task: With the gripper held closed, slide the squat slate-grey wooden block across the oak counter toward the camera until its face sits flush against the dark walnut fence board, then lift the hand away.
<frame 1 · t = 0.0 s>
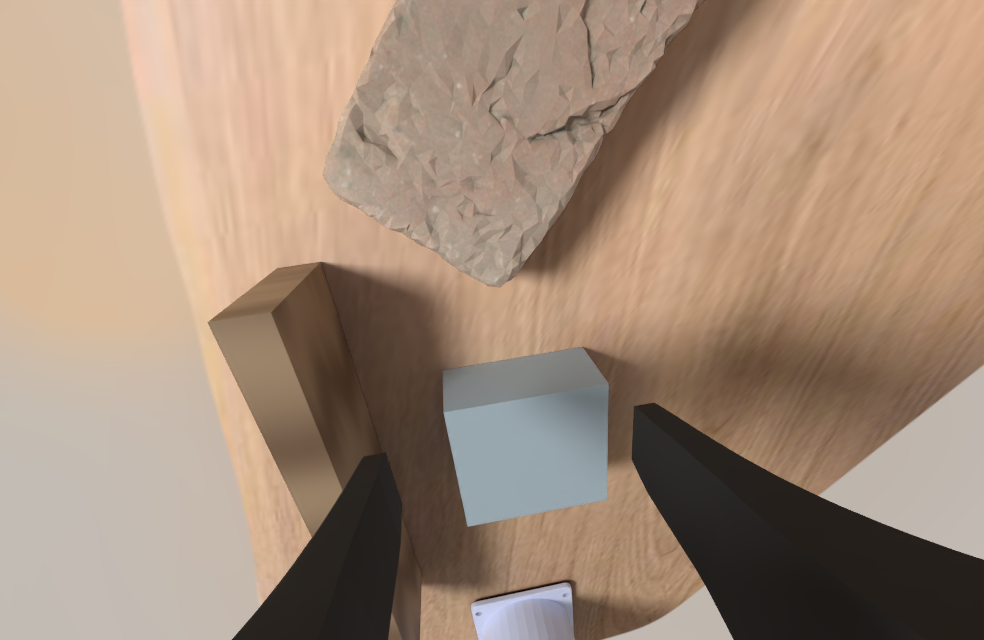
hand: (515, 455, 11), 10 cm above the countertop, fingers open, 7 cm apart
brick: (513, 62, 16), on the countertop
fence board: (365, 457, 23), on the countertop
grey block: (518, 412, 24), on the countertop
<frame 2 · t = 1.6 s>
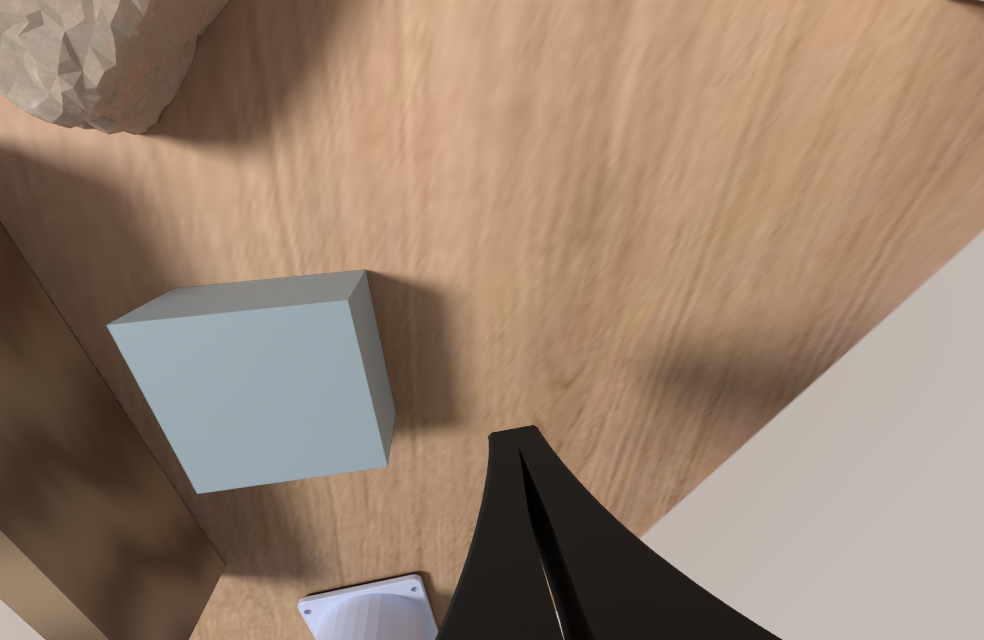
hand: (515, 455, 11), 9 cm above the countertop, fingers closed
fence board: (98, 410, 18), on the countertop
grey block: (299, 355, 19), on the countertop
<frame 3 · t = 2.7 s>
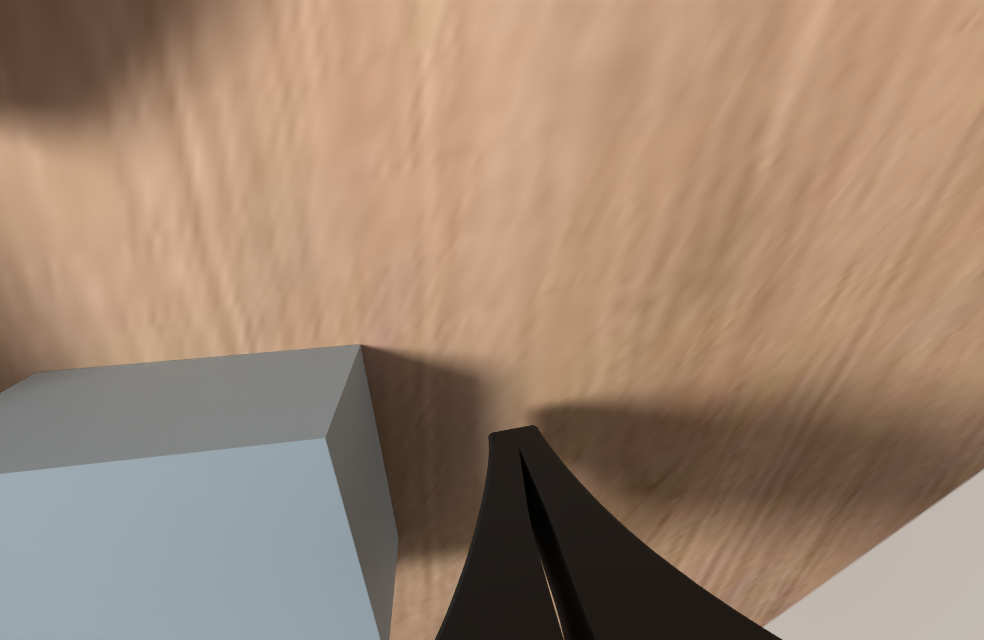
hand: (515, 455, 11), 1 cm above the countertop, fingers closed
grey block: (253, 463, 12), on the countertop
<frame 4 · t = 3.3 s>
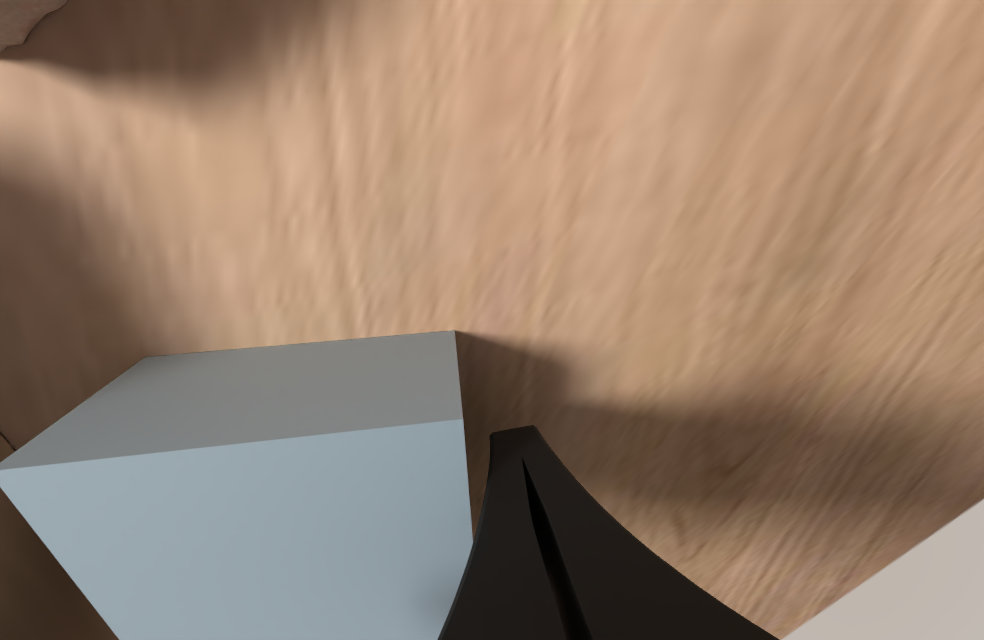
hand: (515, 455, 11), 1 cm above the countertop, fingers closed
fence board: (48, 535, 12), on the countertop
grey block: (337, 452, 12), on the countertop, touching gripper
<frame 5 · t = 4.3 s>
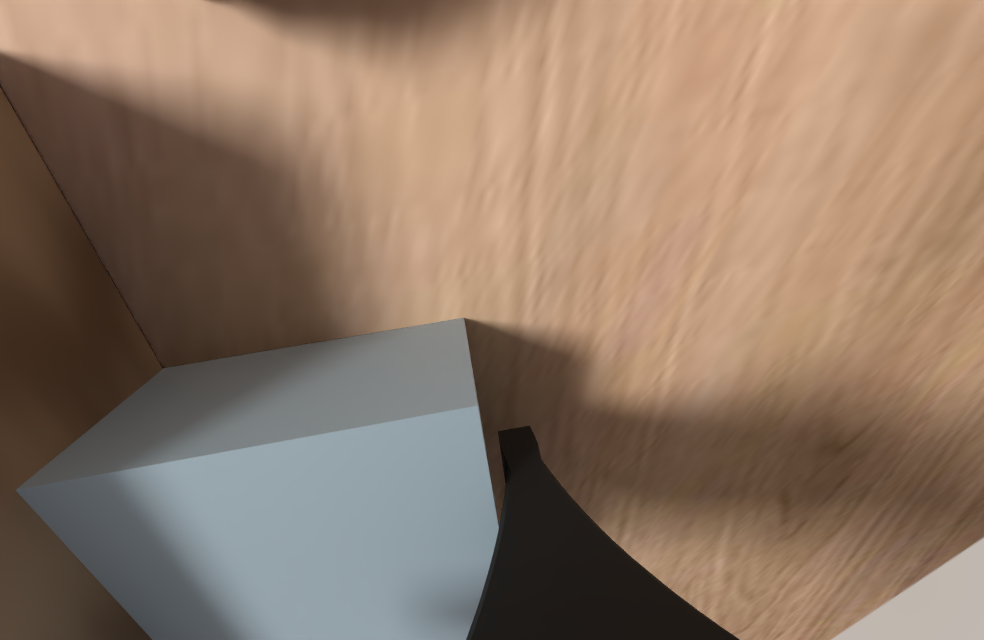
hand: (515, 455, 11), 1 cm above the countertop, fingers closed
fence board: (205, 505, 12), on the countertop
grey block: (357, 452, 12), on the countertop, touching fence board, gripper
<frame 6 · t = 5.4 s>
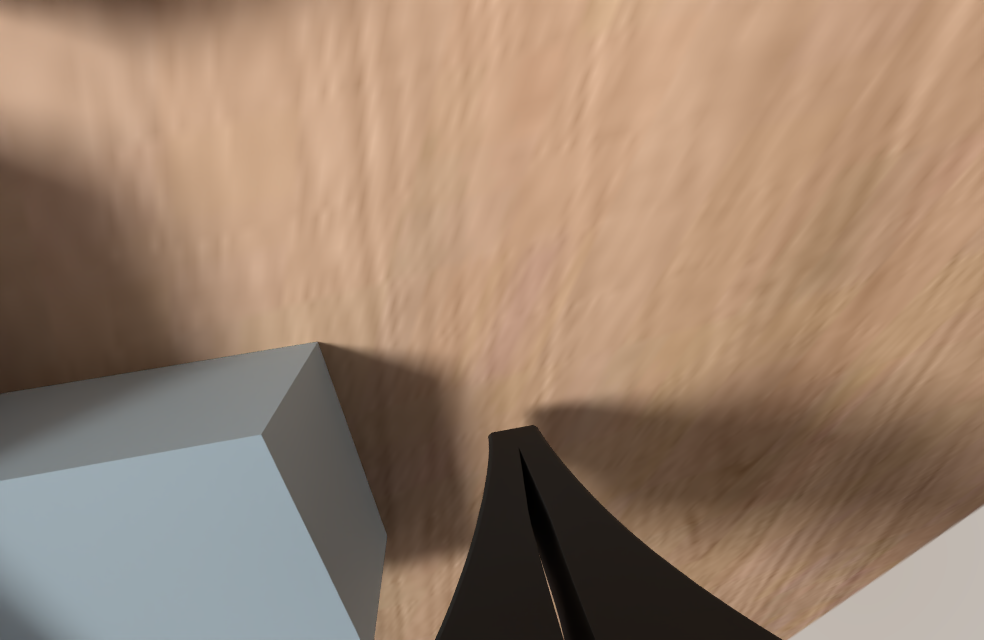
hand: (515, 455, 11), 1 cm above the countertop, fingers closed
grey block: (230, 469, 12), on the countertop
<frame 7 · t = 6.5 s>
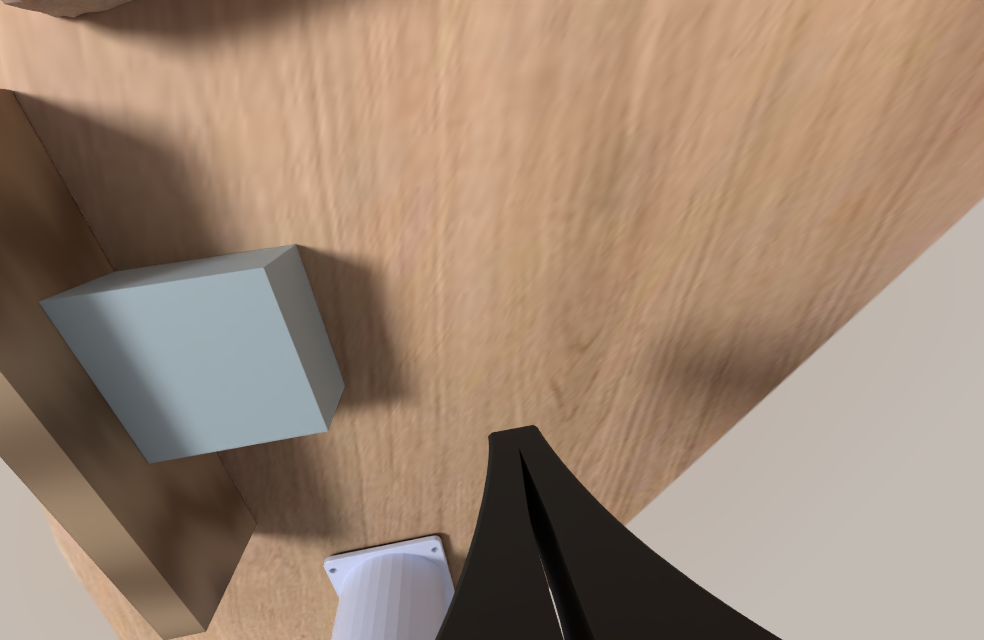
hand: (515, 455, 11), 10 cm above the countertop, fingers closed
fence board: (145, 367, 19), on the countertop
grey block: (244, 331, 20), on the countertop
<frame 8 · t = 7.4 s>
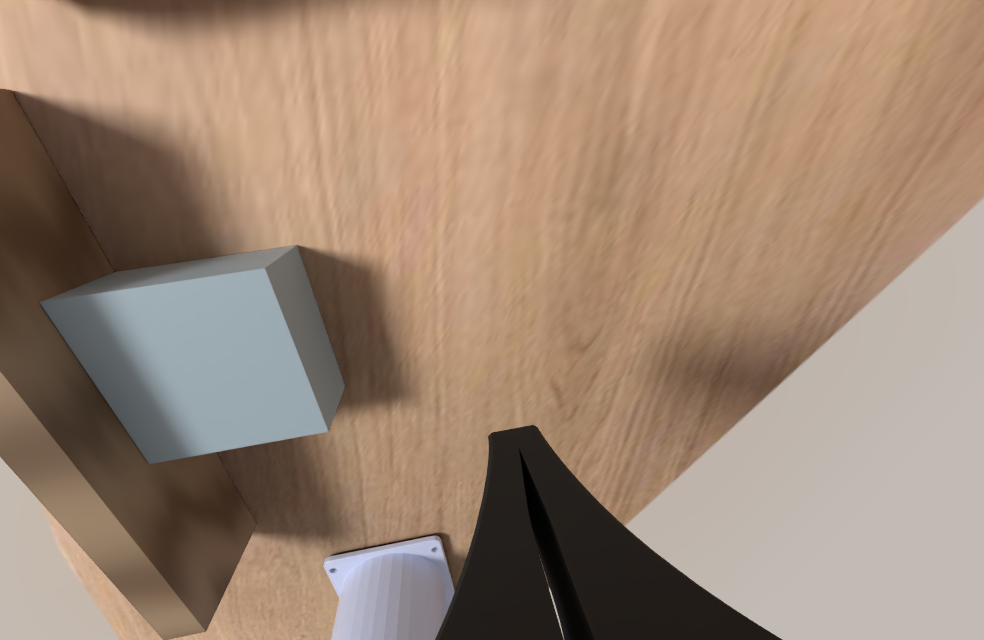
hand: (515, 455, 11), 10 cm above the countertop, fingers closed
fence board: (145, 367, 19), on the countertop
grey block: (244, 332, 20), on the countertop
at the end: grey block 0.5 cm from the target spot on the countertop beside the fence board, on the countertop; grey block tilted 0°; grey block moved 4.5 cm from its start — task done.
